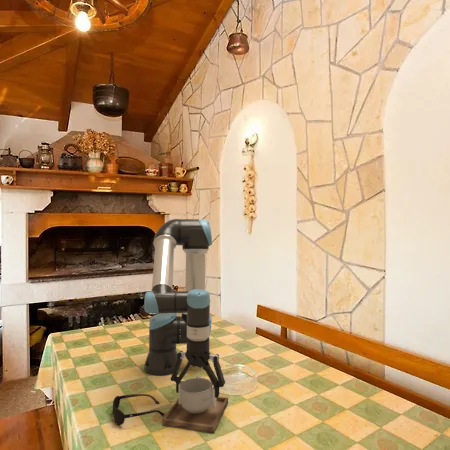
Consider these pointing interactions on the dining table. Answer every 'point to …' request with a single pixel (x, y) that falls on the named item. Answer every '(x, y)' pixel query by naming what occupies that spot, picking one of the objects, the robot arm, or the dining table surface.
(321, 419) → the dining table surface
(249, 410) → the dining table surface
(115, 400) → the sunglasses
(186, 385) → the teacup
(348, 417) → the dining table surface
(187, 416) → the tray
